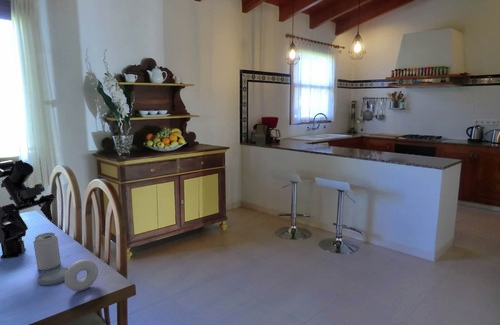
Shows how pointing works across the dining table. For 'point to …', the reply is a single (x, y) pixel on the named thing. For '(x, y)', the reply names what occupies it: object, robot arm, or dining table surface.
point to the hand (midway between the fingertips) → (39, 224)
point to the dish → (52, 277)
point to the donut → (85, 282)
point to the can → (47, 251)
